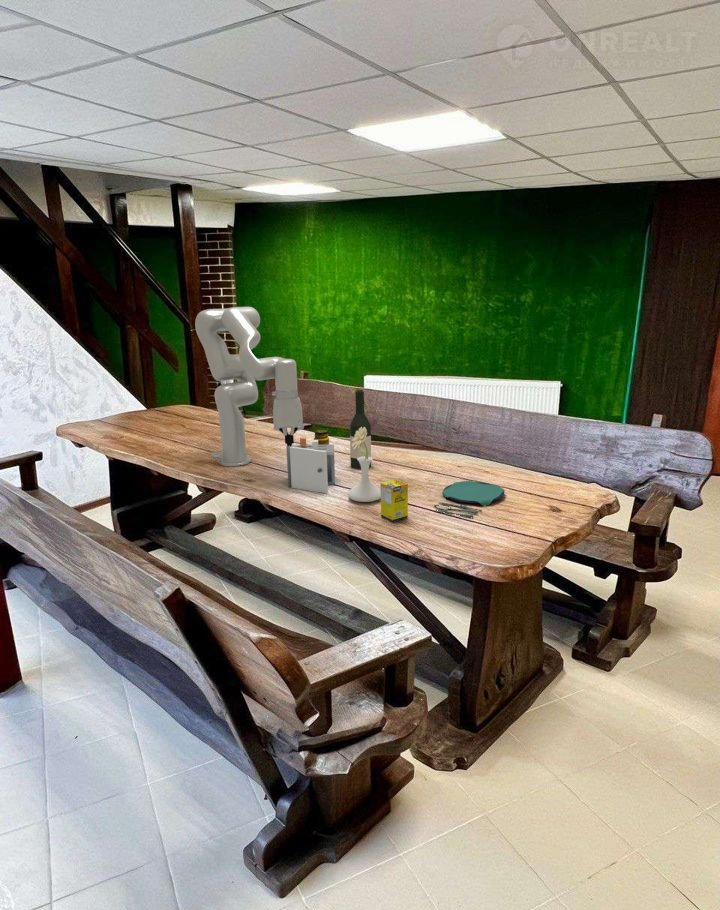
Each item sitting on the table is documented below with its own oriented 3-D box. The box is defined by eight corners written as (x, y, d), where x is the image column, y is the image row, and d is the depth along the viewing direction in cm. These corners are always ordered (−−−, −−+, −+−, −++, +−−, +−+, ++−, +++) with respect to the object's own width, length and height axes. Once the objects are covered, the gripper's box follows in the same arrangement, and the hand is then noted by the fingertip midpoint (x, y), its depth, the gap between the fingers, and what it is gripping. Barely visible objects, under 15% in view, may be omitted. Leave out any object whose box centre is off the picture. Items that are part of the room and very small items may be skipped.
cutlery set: (513, 492, 203) (513, 485, 202) (477, 522, 179) (477, 515, 178) (458, 483, 214) (458, 477, 213) (418, 511, 190) (417, 504, 189)
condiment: (333, 460, 243) (332, 431, 240) (315, 464, 238) (314, 434, 235) (324, 456, 249) (323, 428, 245) (306, 460, 244) (305, 431, 241)
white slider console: (289, 485, 213) (287, 452, 210) (291, 477, 222) (289, 445, 219) (334, 484, 213) (333, 451, 210) (334, 476, 223) (334, 444, 220)
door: (286, 487, 211) (284, 447, 207) (289, 485, 213) (287, 446, 209) (324, 494, 204) (323, 452, 200) (328, 492, 206) (326, 451, 202)
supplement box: (408, 518, 182) (408, 483, 179) (392, 522, 179) (392, 487, 176) (395, 512, 187) (395, 478, 184) (380, 516, 183) (380, 482, 180)
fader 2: (312, 449, 212) (312, 441, 212) (312, 447, 215) (312, 439, 214) (318, 449, 213) (317, 441, 212) (318, 447, 215) (318, 439, 214)
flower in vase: (348, 493, 204) (347, 420, 198) (382, 493, 204) (382, 420, 197) (346, 507, 192) (345, 430, 185) (382, 507, 191) (382, 429, 185)
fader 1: (300, 446, 216) (299, 439, 215) (300, 445, 218) (300, 437, 218) (305, 446, 216) (305, 439, 215) (306, 444, 219) (305, 437, 218)
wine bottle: (356, 470, 229) (354, 392, 221) (346, 465, 236) (344, 388, 228) (375, 467, 233) (374, 389, 224) (365, 462, 240) (364, 386, 232)
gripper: (264, 397, 208) (267, 448, 213) (307, 396, 209) (310, 447, 214) (266, 393, 216) (269, 443, 220) (308, 392, 216) (310, 442, 221)
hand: (289, 445), depth 217 cm, fingers closed
